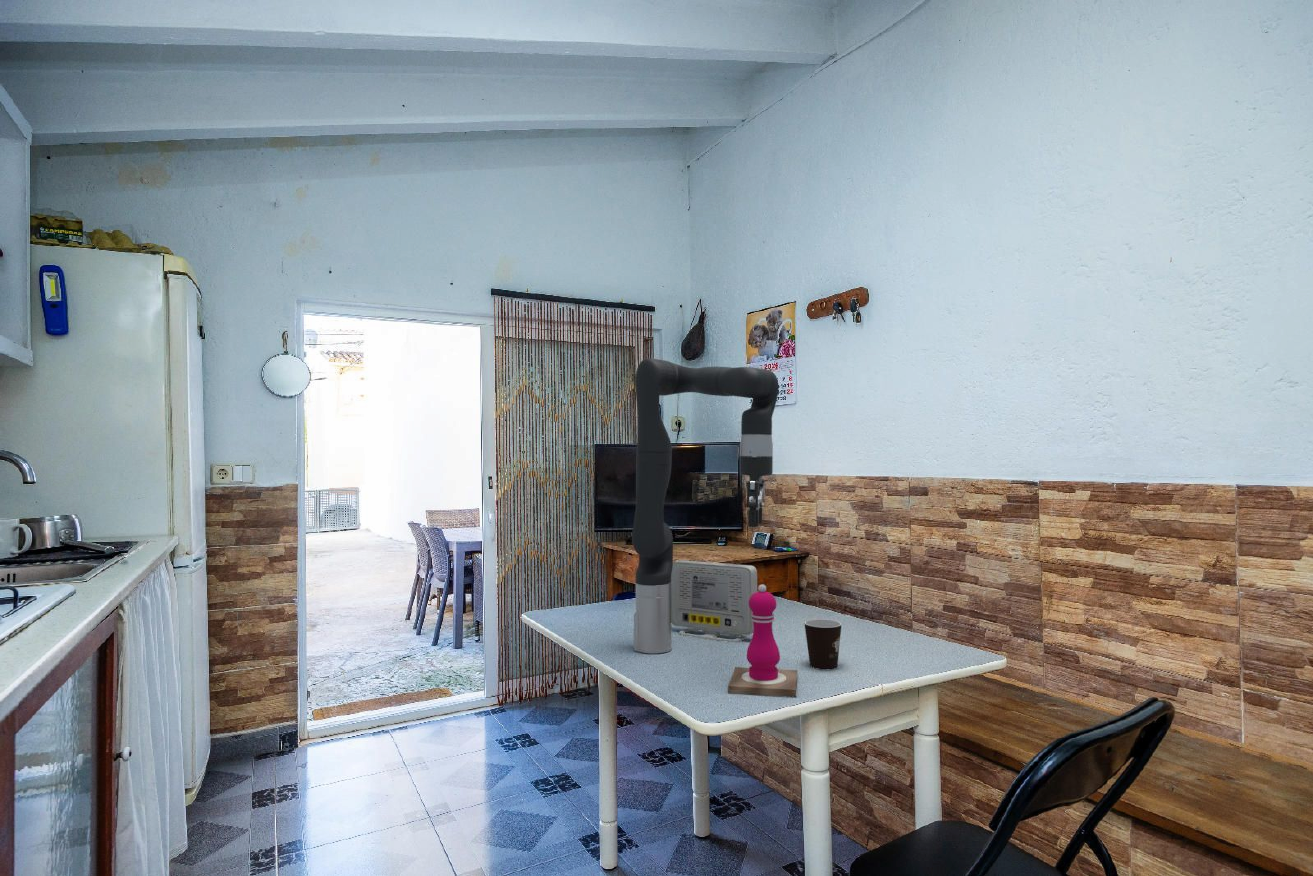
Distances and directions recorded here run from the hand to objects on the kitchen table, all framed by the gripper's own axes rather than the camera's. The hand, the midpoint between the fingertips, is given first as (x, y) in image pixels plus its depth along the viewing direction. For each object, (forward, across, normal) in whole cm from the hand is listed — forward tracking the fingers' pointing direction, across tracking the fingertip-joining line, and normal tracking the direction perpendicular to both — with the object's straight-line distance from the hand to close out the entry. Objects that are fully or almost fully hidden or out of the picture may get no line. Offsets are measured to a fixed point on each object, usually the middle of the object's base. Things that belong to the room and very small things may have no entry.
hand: (755, 525), depth 165 cm
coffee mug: (+34, -11, +17) cm, 39 cm away
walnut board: (+34, +8, +3) cm, 35 cm away
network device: (+35, -33, -15) cm, 50 cm away
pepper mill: (+32, +7, +3) cm, 33 cm away
